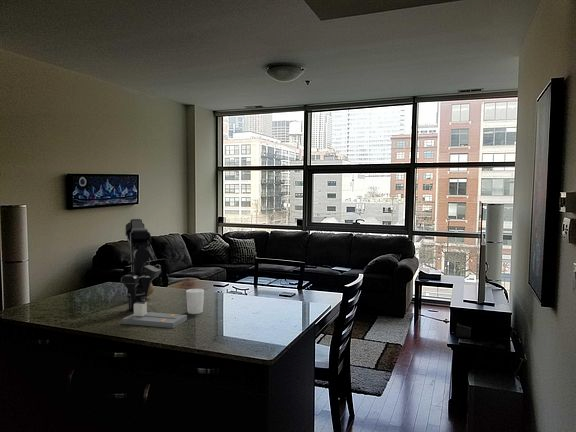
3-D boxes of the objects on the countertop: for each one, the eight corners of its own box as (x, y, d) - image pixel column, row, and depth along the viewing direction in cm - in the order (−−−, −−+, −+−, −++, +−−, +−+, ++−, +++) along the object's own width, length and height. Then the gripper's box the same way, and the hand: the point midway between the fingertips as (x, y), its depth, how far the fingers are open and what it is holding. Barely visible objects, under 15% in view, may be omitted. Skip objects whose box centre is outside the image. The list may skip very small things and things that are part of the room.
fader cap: (133, 315, 182) (133, 303, 182) (138, 313, 186) (138, 301, 185) (142, 316, 181) (142, 303, 181) (147, 314, 185) (146, 301, 184)
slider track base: (122, 323, 179) (122, 318, 179) (138, 315, 190) (138, 310, 190) (173, 328, 173) (173, 322, 173) (187, 319, 185) (187, 314, 185)
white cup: (199, 315, 192) (199, 292, 192) (183, 314, 194) (183, 291, 194) (206, 310, 200) (206, 289, 200) (190, 309, 202) (190, 288, 201)
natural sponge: (157, 297, 225) (157, 278, 224) (146, 301, 216) (146, 281, 216) (143, 295, 228) (143, 277, 227) (131, 299, 219) (131, 280, 219)
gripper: (144, 263, 171) (145, 302, 172) (168, 257, 190) (168, 292, 190) (120, 262, 174) (120, 300, 175) (145, 256, 192) (145, 291, 193)
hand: (140, 296), depth 183 cm, fingers open, 9 cm apart
